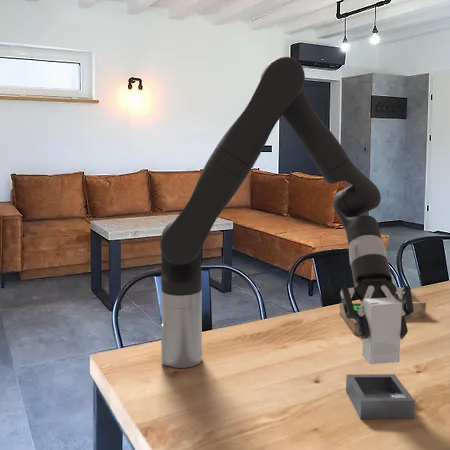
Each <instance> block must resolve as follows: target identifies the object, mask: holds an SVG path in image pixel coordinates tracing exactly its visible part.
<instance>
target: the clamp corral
mask: <svg viewBox="0 0 450 450" xmlns="http://www.w3.org/2000/svg"><path fill="white" fill-rule="evenodd" d="M352 303H353V306H360V305H361V302H352ZM339 316H341V319H342V320H343V321H344V323H345V324H346V325H347V326H348V327H347V328H349V329H350V331H351V333H352V334H353V335H354V336H360V335H359V332H358V327H357V322H356V320H355V319H352V318H350V319H348V318H347V317H346V315H345V311H344V307H343V304H342V302H339Z"/></svg>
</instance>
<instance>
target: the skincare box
mask: <svg viewBox="0 0 450 450" xmlns="http://www.w3.org/2000/svg"><path fill="white" fill-rule="evenodd" d="M364 311H365V314H364V317H366V321H367V327H368V332H369V336H368V338H367V339H363V338H362V350H361V351H362V353H361V355H362V357H363V359H365V361H367V362H368V363H369V364H370V365H378V364H381V365H382V364H393V363H399V362H400V355H401V354H400V352H401V351H400V350H401V339H400V335H401V312H402V303H401V302H399V301H397V300H396V299H394V298H392V297H389V298H373V299H364Z"/></svg>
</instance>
